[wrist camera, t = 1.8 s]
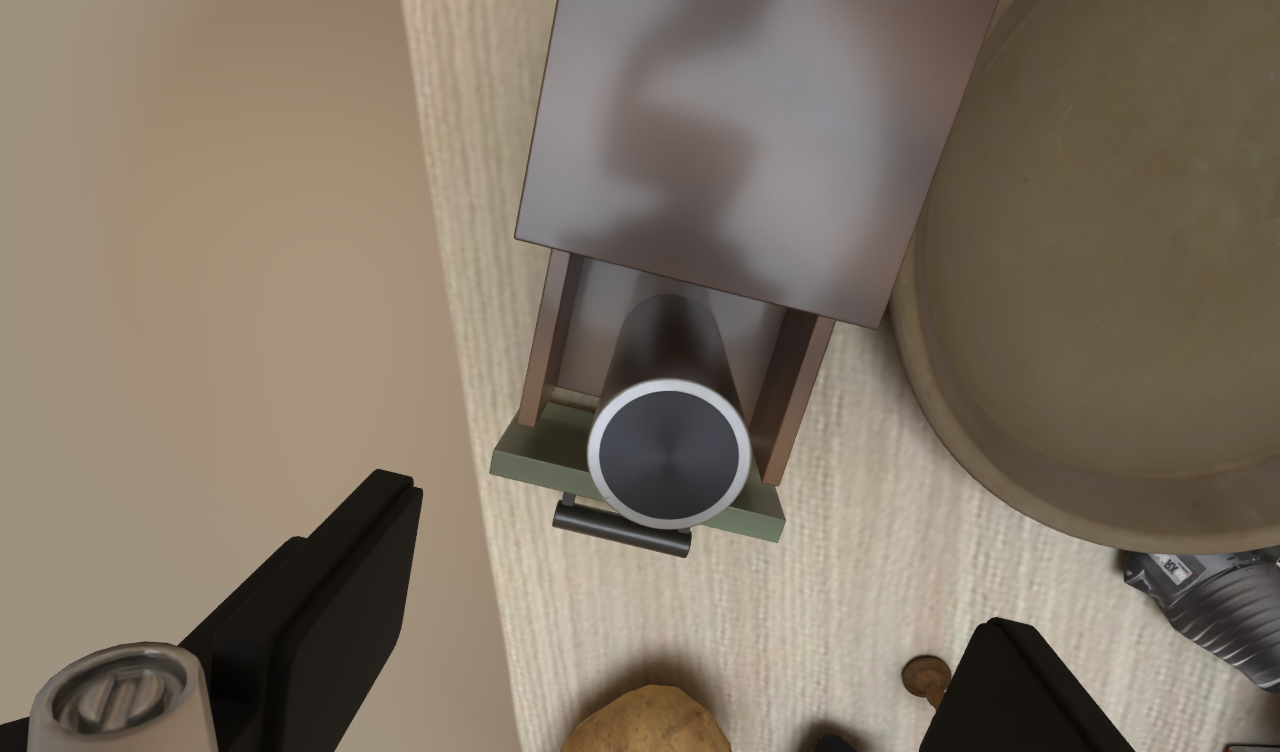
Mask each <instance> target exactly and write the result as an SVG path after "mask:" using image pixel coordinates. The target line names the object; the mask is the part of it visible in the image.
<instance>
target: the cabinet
mask: <svg viewBox="0 0 1280 752" xmlns="http://www.w3.org/2000/svg"><path fill="white" fill-rule="evenodd" d="M998 2H999V0H557V3H556V8H555V14H554V19H553V25H552V30H551V36H550V41H549V47H548V52H547V58H546V63H545V69H544V74H543V80H542V85H541V91H540V96H539V102H538V107H537V113H536V118H535V124H534V129H533V135H532V140H531V146H530V151H529V157H528V162H527V167H526V173H525V178H524V184H523V189H522V195H521V200H520V206H519V211H518V217H517V222H516V228H515V233H514V239H516V240H520V241H524V242H528V243H532V244H536V245H540V246H544V247H547V248H551V249H555V250H559V251H563V252H567V253H571V254H575V255H579V256H583V257H587V258H591V259H595V260H599V261H603V262H607V263H611V264H615V265H619V266H623V267H627V268H631V269H635V270H639V271H643V272H647V273H651V274H655V275H659V276H663V277H667V278H671V279H675V280H678V281H682V282H686V283H690V284H694V285H698V286H702V287H706V288H710V289H714V290H718V291H722V292H726V293H730V294H734V295H738V296H742V297H746V298H750V299H754V300H758V301H762V302H766V303H770V304H774V305H778V306H782V307H786V308H790V309H794V310H798V311H802V312H806V313H809V314H813V315H817V316H821V317H825V318H829V319H833V320H837V321H841V322H845V323H849V324H853V325H857V326H861V327H865V328H869V329H873V330H878V329H879V326H880V324H881V321H882V318H883V315H884V313H885V310H886V307H887V305H888V302H889V299H890V296H891V294H892V291H893V288H894V285H895V283H896V280H897V277H898V275H899V272H900V269H901V266H902V264H903V261H904V258H905V256H906V253H907V250H908V247H909V245H910V242H911V239H912V236H913V234H914V231H915V228H916V226H917V223H918V220H919V217H920V215H921V212H922V209H923V207H924V204H925V201H926V198H927V196H928V193H929V190H930V187H931V185H932V182H933V179H934V177H935V174H936V171H937V168H938V166H939V163H940V160H941V158H942V155H943V152H944V149H945V147H946V144H947V141H948V138H949V136H950V133H951V130H952V128H953V125H954V122H955V119H956V117H957V114H958V111H959V109H960V106H961V103H962V100H963V98H964V95H965V92H966V89H967V87H968V84H969V81H970V79H971V76H972V73H973V70H974V68H975V65H976V62H977V59H978V57H979V54H980V51H981V49H982V46H983V43H984V40H985V38H986V35H987V32H988V30H989V27H990V24H991V21H992V19H993V16H994V13H995V10H996V8H997V5H998Z"/></svg>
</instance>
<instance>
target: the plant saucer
mask: <svg viewBox="0 0 1280 752" xmlns="http://www.w3.org/2000/svg"><path fill="white" fill-rule="evenodd" d="M888 305H889V312H890V317H891V323H892V328H893V333H894V338H895V342H896V346H897V349H898V353H899V357H900V360H901V363H902V366H903V369H904V372H905V375H906V377H907V380H908V382H909V385H910V387H911V390H912V392H913V394H914V396H915V398H916V400H917V402H918V404H919V406H920V408H921V410H922V412H923V414H924V416H925V417H926V419H927V421H928V422H929V424H930V426H931V427H932V429H933V430H934V432H935V433H936V435H937V436H938V438H939V439H940V441H941V442H942V443H943V445H944V446H945V447H946V448H947V450H948V451H949V452H950V453H951V455H952V456H953V457H954V458H955V459H956V460H957V462H958V463H959V464H960V465H961V466H962V467H963V468H964V469H965V470H966V471H967V472H968V473H969V474H970V475H971V476H972V477H973V478H974V479H975V480H977V481H978V482H979V483H980V484H981V485H982V486H983V487H985V488H986V489H987V490H988V491H990V492H991V493H992V494H994V495H995V496H996V497H998V498H999V499H1001V500H1002V501H1003V502H1005V503H1006V504H1008V505H1009V506H1010V507H1012V508H1014V509H1015V510H1017V511H1019V512H1020V513H1022V514H1024V515H1026V516H1028V517H1030V518H1032V519H1034V520H1036V521H1037V522H1039V523H1041V524H1043V525H1045V526H1048V527H1050V528H1053V529H1055V530H1057V531H1060V532H1062V533H1064V534H1067V535H1069V536H1072V537H1076V538H1079V539H1082V540H1086V541H1089V542H1092V543H1096V544H1099V545H1103V546H1108V547H1113V548H1118V549H1122V550H1127V551H1135V552H1142V553H1152V554H1166V555H1214V554H1225V553H1236V552H1244V551H1250V550H1255V549H1261V548H1266V547H1272V546H1277V545H1280V0H999V2H998V5H997V8H996V10H995V13H994V16H993V19H992V21H991V24H990V27H989V30H988V32H987V35H986V38H985V40H984V43H983V46H982V49H981V51H980V54H979V57H978V59H977V62H976V65H975V68H974V70H973V73H972V76H971V79H970V81H969V84H968V87H967V89H966V92H965V95H964V98H963V100H962V103H961V106H960V109H959V111H958V114H957V117H956V119H955V122H954V125H953V128H952V130H951V133H950V136H949V138H948V141H947V144H946V147H945V149H944V152H943V155H942V158H941V160H940V163H939V166H938V168H937V171H936V174H935V177H934V179H933V182H932V185H931V187H930V190H929V193H928V196H927V198H926V201H925V204H924V207H923V209H922V212H921V215H920V217H919V220H918V223H917V226H916V228H915V231H914V234H913V236H912V239H911V242H910V245H909V247H908V250H907V253H906V256H905V258H904V261H903V264H902V266H901V269H900V272H899V275H898V277H897V280H896V283H895V285H894V288H893V291H892V294H891V296H890V299H889V302H888Z"/></svg>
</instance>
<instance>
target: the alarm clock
mask: <svg viewBox="0 0 1280 752" xmlns="http://www.w3.org/2000/svg"><path fill="white" fill-rule="evenodd" d="M1228 752H1280V748H1268V747H1243V746H1231V747H1230V748H1229V750H1228Z"/></svg>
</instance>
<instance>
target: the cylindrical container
mask: <svg viewBox="0 0 1280 752" xmlns="http://www.w3.org/2000/svg"><path fill="white" fill-rule="evenodd" d="M586 458H587V466H588V470H589V474H590V477H591V479H592V481H593V484H594V486H595V487H596V489H597V491H598V493H599V494H600V495H601V497H602V498H603V499H604V500H605V502H606V503H607V504H608V505H609V506H611V507H612V508H613V509H614V510H615V511H616V512H618V513H619V514H620V515H622V516H624V517H625V518H627V519H629V520H631V521H633V522H635V523H638V524H640V525H644V526H647V527H651V528H657V529H682V528H688V527H692V526H696V525H699V524H702V523H704V522H706V521H709V520H710V519H712V518H714V517H716V516H717V515H719V514H720V513H721V512H723V511H724V510H725V509H727V508H728V507H729V506H730V505H731V504H732V503H733V502H734V500H735V499H736V498H737V496H738V495H739V494H740V492H741V491H742V489H743V487H744V485H745V483H746V481H747V478H748V476H749V472H750V468H751V462H752V445H751V439H750V435H749V431H748V428H747V424H746V421H745V418H744V414H743V411H742V407H741V404H740V400H739V397H738V394H737V390H736V387H735V383H734V380H733V377H732V373H731V370H730V366H729V363H728V359H727V356H726V353H725V349H724V346H723V342H722V339H721V335H720V332H719V329H718V326H717V324H716V322H715V320H714V319H713V317H712V316H711V314H710V313H709V312H708V311H707V310H706V309H705V308H704V307H703V306H702V305H700V304H699V303H697V302H695V301H693V300H691V299H689V298H686V297H683V296H678V295H661V296H657V297H653V298H651V299H648V300H646V301H644V302H642V303H641V304H639V305H638V306H637V307H636V308H634V309H633V310H632V311H631V312H630V314H629V315H628V316H627V318H626V319H625V321H624V323H623V325H622V327H621V330H620V333H619V337H618V340H617V343H616V346H615V350H614V353H613V356H612V360H611V363H610V366H609V369H608V373H607V376H606V379H605V383H604V386H603V389H602V392H601V396H600V399H599V402H598V406H597V409H596V412H595V415H594V419H593V422H592V425H591V428H590V432H589V435H588V440H587V446H586Z"/></svg>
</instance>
